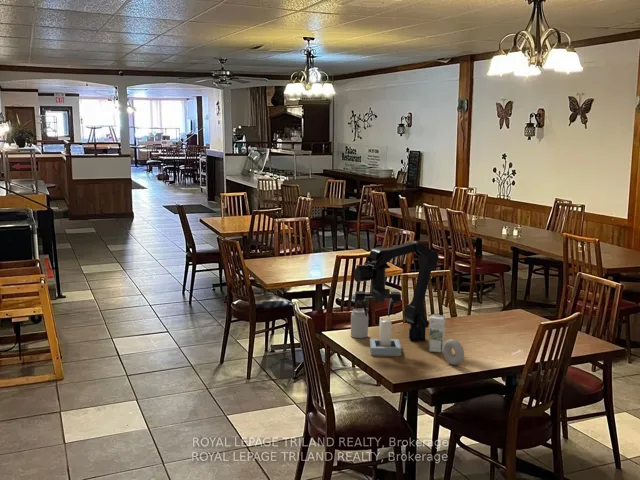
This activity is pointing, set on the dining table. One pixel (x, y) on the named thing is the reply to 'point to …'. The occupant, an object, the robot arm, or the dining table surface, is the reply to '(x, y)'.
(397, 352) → the caddy
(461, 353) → the donut
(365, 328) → the can
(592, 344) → the dining table surface
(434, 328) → the syrup box
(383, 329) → the white cylinder
